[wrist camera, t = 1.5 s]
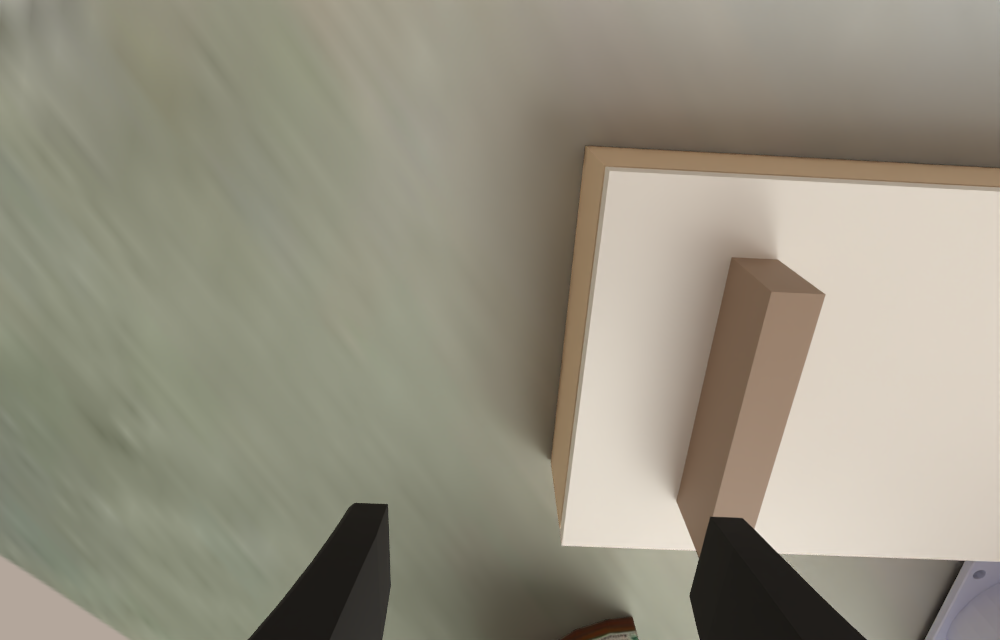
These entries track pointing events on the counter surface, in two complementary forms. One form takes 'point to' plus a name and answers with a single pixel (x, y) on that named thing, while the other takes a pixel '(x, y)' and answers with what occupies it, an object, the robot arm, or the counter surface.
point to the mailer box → (701, 162)
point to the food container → (606, 630)
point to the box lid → (790, 366)
